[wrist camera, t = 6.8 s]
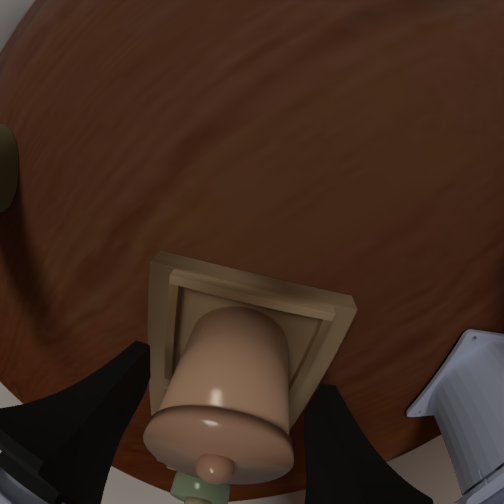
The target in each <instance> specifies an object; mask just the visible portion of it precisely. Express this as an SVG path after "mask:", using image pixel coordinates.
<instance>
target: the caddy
mask: <svg viewBox="0 0 504 504" xmlns="http://www.w3.org/2000/svg"><path fill="white" fill-rule="evenodd" d="M228 306H240V307H247V308H251V309H255V310H257V311H260V312H262V313H264V314H266V315H268V316H269V317H271V318H272V319H273V320H274V321H276V322H277V323H278V325H279V326H280V327H281V328H282V330H283V331H284V333H285V335H286V339H287V344H288V379H289V431H290V429H291V428H292V426H293V425H294V423H295V422H296V420H297V419H298V417H299V416H300V414H301V412H302V411H303V409H304V408H305V406H306V404H307V403H308V401H309V400H310V398H311V396H312V395H313V393H314V391H315V390H316V388H317V386H318V385H319V383H320V381H321V379H322V378H323V376H324V374H325V372H326V370H327V369H328V367H329V365H330V363H331V361H332V360H333V358H334V356H335V354H336V352H337V350H338V348H339V346H340V344H341V342H342V340H343V338H344V336H345V334H346V332H347V330H348V328H349V326H350V324H351V322H352V320H353V318H354V316H355V314H356V312H357V307H356V305H355V303H354V301H353V298H352V296H350V295H346V294H341V293H337V292H332V291H328V290H323V289H319V288H314V287H310V286H305V285H301V284H296V283H292V282H288V281H283V280H279V279H275V278H271V277H266V276H262V275H258V274H254V273H249V272H245V271H241V270H237V269H233V268H229V267H225V266H221V265H217V264H212V263H208V262H204V261H200V260H196V259H192V258H188V257H184V256H181V255H177V254H173V253H169V252H165V251H160V252H159V253H158V254H157V255H156V256H155V257H154V258H153V259H152V260H151V261H150V274H149V296H148V345H150V370H151V377H150V380H149V388H150V403H151V415H153V414H155V413H156V412H158V411H159V408H160V406H161V403H162V401H163V398H164V396H165V393H166V391H167V389H168V386H169V384H170V381H171V379H172V377H173V374H174V372H175V370H176V367H177V365H178V362H179V360H180V358H181V355H182V353H183V351H184V348H185V346H186V344H187V341H188V339H189V337H190V334H191V332H192V330H193V327H194V326H195V324H196V322H197V321H198V320H199V319H200V318H201V317H202V316H203V315H205V314H206V313H208V312H210V311H212V310H214V309H217V308H221V307H228ZM157 461H159V462H161V461H160V460H159V459H157ZM167 468H169V469H172V470H175V469H173V468H171V467H170V466H168V465H167ZM175 471H177V470H175Z"/></svg>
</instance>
